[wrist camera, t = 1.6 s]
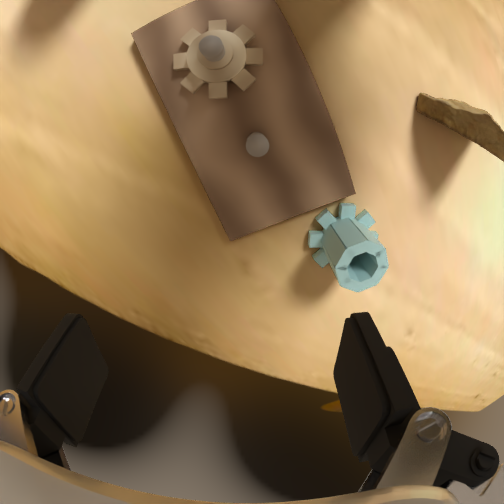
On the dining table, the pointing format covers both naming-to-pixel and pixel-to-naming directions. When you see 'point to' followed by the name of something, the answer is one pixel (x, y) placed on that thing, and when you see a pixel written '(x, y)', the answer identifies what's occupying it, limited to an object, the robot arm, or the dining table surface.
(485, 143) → the rock
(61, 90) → the dining table surface
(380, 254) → the loose cog
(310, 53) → the dining table surface
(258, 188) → the gear board
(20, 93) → the dining table surface
